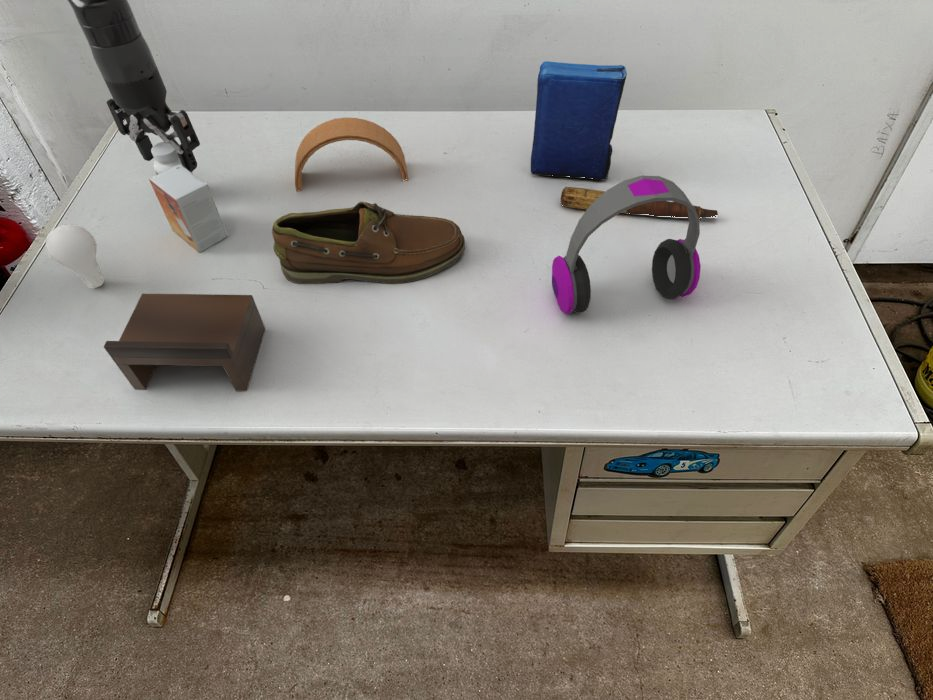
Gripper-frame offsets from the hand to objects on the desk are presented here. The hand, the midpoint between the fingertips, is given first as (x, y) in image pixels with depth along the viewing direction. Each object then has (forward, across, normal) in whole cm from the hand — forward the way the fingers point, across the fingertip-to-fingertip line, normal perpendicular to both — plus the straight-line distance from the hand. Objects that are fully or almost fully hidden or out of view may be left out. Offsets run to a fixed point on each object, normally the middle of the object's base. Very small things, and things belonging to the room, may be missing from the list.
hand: (171, 164), depth 101 cm
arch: (+7, +24, +17) cm, 30 cm away
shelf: (+7, +26, -28) cm, 39 cm away
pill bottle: (+7, 0, 0) cm, 7 cm away
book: (+7, +60, +33) cm, 69 cm away
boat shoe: (+7, +39, -2) cm, 39 cm away
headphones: (+7, +76, +6) cm, 76 cm away
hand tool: (+7, +74, +27) cm, 79 cm away
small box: (+7, +9, -7) cm, 13 cm away
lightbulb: (+7, +2, -23) cm, 24 cm away
